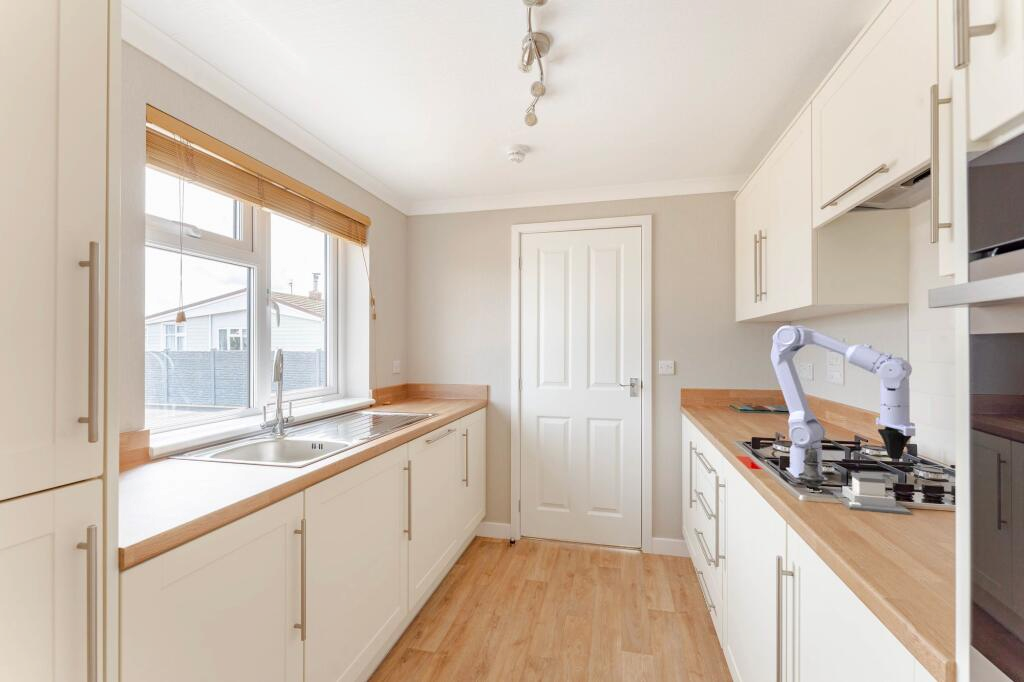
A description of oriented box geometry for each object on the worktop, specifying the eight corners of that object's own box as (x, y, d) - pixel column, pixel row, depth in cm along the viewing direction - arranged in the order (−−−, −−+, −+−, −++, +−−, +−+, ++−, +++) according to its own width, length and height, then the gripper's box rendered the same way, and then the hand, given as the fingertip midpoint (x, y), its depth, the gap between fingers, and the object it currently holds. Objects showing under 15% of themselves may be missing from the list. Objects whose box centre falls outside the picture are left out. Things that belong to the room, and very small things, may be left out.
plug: (852, 496, 113) (852, 472, 113) (876, 498, 112) (876, 474, 112) (859, 502, 110) (859, 477, 109) (885, 504, 108) (885, 479, 108)
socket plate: (829, 492, 118) (829, 482, 118) (884, 496, 115) (884, 486, 115) (849, 509, 107) (849, 498, 107) (911, 514, 103) (911, 503, 103)
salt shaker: (829, 493, 117) (829, 447, 117) (806, 493, 117) (806, 447, 117) (815, 486, 123) (815, 442, 123) (793, 486, 123) (793, 442, 123)
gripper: (930, 410, 107) (930, 467, 108) (898, 401, 121) (898, 452, 122) (895, 409, 109) (895, 465, 110) (867, 400, 123) (867, 450, 124)
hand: (894, 458), depth 116 cm, fingers closed
